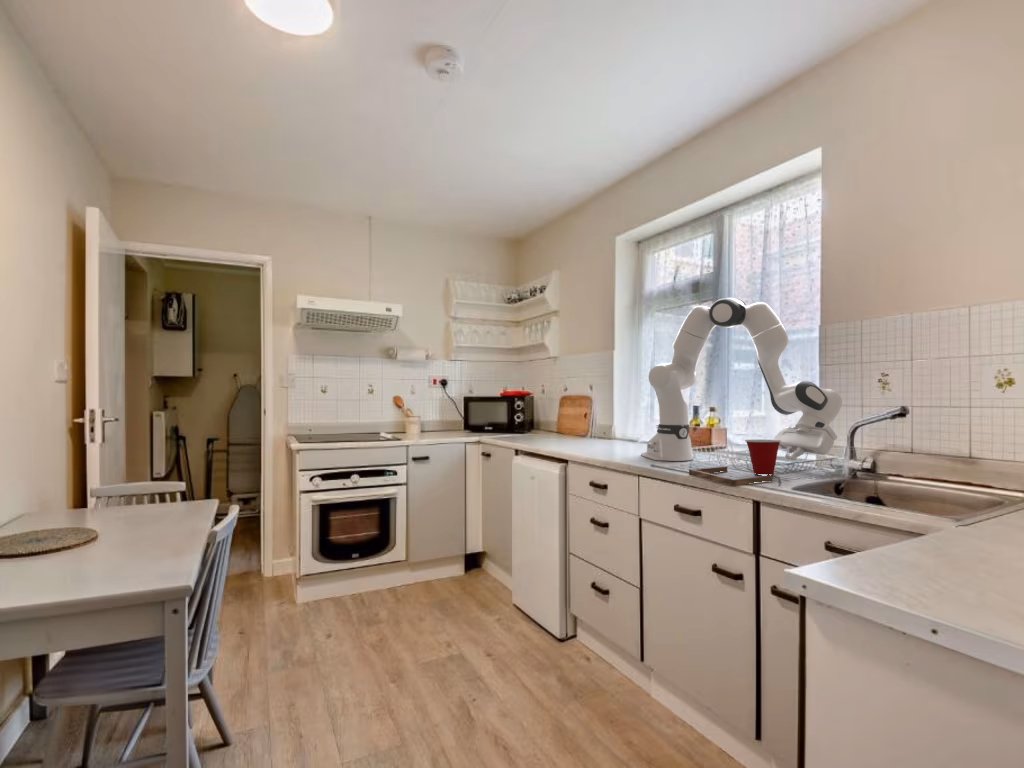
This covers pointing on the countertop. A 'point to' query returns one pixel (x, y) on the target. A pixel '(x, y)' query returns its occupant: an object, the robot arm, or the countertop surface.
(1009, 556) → the countertop surface
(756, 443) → the plastic cup
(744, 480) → the tray
